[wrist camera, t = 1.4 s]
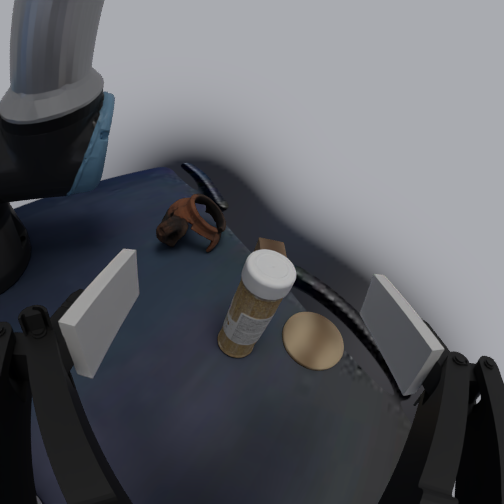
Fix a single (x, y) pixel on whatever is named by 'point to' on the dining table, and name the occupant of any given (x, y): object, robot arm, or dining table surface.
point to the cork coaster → (312, 341)
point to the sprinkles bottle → (255, 301)
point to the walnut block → (271, 246)
